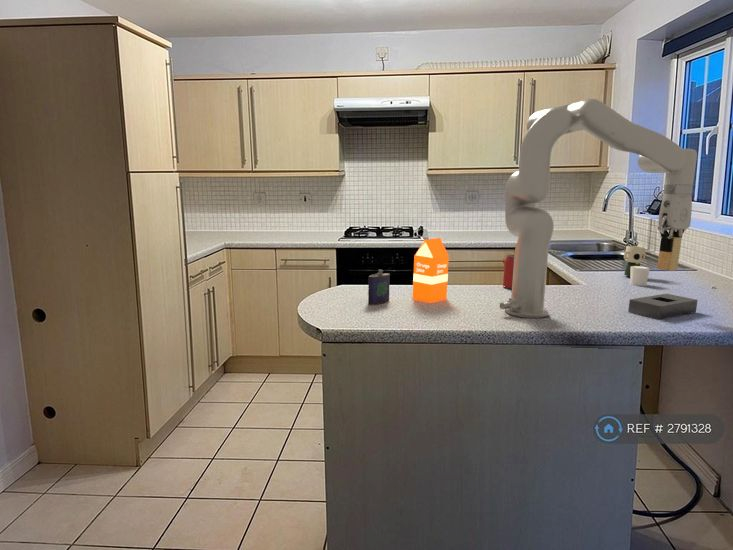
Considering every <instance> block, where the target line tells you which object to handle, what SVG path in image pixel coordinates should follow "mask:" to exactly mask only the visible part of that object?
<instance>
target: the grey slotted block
mask: <svg viewBox="0 0 733 550" xmlns="http://www.w3.org/2000/svg"><path fill="white" fill-rule="evenodd" d="M697 306H698V299H695V298H691V297H685V296H680V295H675V294H671V293H661V294H655V295H649V296H642V297H637V298H636V297H635V298H629V303H628V311H627V313H631V314H634V315H635V314H636V315H639V316H644V317H648V318H651V317H652V319H656V320H663V319H664V320H665V319H668V318H674V317H678V316H683V315H689V314H694V313H696V312H697Z"/></svg>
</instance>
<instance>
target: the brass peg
mask: <svg viewBox="0 0 733 550" xmlns="http://www.w3.org/2000/svg"><path fill="white" fill-rule="evenodd" d="M671 239H672V246H671V252H663V251H660V249H659V252H658V258H657V267H656V269H657V270H663V271H670V272H672V271H673V272H674V271H678V267H679V260H680V259H679V258H680V250H681V245H682V239H683V237H682V238H680V237H671Z"/></svg>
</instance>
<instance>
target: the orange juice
mask: <svg viewBox="0 0 733 550" xmlns="http://www.w3.org/2000/svg"><path fill="white" fill-rule="evenodd" d="M444 245H445V244H444V243H443V241H442V239H441V237H437V238H428V239H427V238H426V239H424V240H423V242H422V243H421V245H420V246H419V248H418V250H417V251H416V253H415V254H414V257H413V259H414V260H413V274H412V275H413V276H412V277H413V278H412V279H413V280H412V300H414V301H415V300H416V301H419V302H424V303H429V304H432V303H433V304H434V303H436V302H440V301H444V300H447V297H448V296H447V295H448V294H447V293H448V281H449V279H448V278H449V257H450V255H449V254H448V251H447V249H446V247H445V246H444Z"/></svg>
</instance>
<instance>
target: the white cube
mask: <svg viewBox="0 0 733 550" xmlns="http://www.w3.org/2000/svg"><path fill="white" fill-rule="evenodd" d="M650 270H651V269H650V267H647V266H642V265H640V266H631V270H630V277H629V279H630V282H629V283H630V285H632V286H636V287H646V286H647V284H648V283H647V282H648V279H649V275H650V274H649V273H650Z"/></svg>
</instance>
